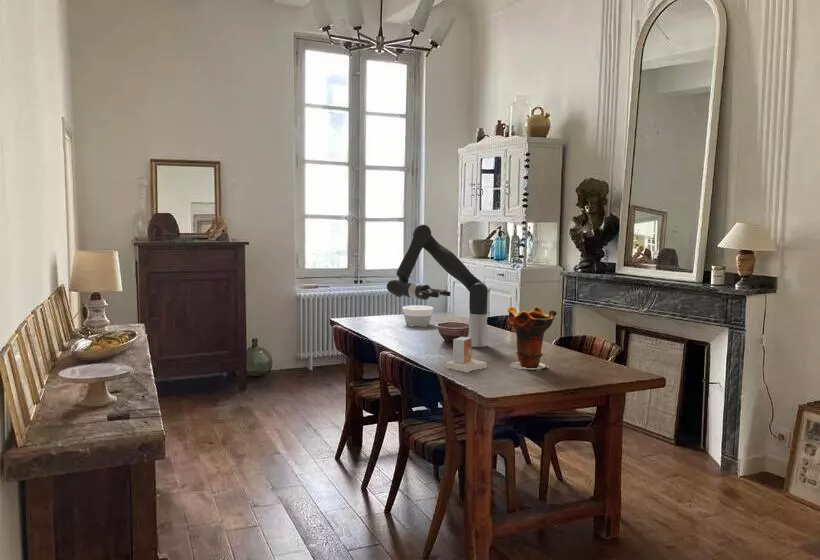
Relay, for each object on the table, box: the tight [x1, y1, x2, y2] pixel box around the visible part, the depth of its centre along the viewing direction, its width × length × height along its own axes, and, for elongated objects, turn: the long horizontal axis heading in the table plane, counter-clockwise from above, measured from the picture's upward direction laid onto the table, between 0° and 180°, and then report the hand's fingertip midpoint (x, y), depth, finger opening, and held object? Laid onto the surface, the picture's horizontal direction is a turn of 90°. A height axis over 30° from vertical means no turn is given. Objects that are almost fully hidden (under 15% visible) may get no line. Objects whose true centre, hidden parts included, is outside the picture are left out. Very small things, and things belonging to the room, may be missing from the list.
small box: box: [452, 336, 472, 363], centre depth 297 cm, size 8×6×10 cm
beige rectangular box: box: [445, 358, 488, 373], centre depth 295 cm, size 14×12×2 cm
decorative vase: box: [507, 306, 558, 371], centre depth 300 cm, size 21×23×28 cm
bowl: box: [402, 304, 434, 327], centre depth 403 cm, size 19×19×11 cm
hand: (444, 294), depth 315 cm, fingers open, 8 cm apart
